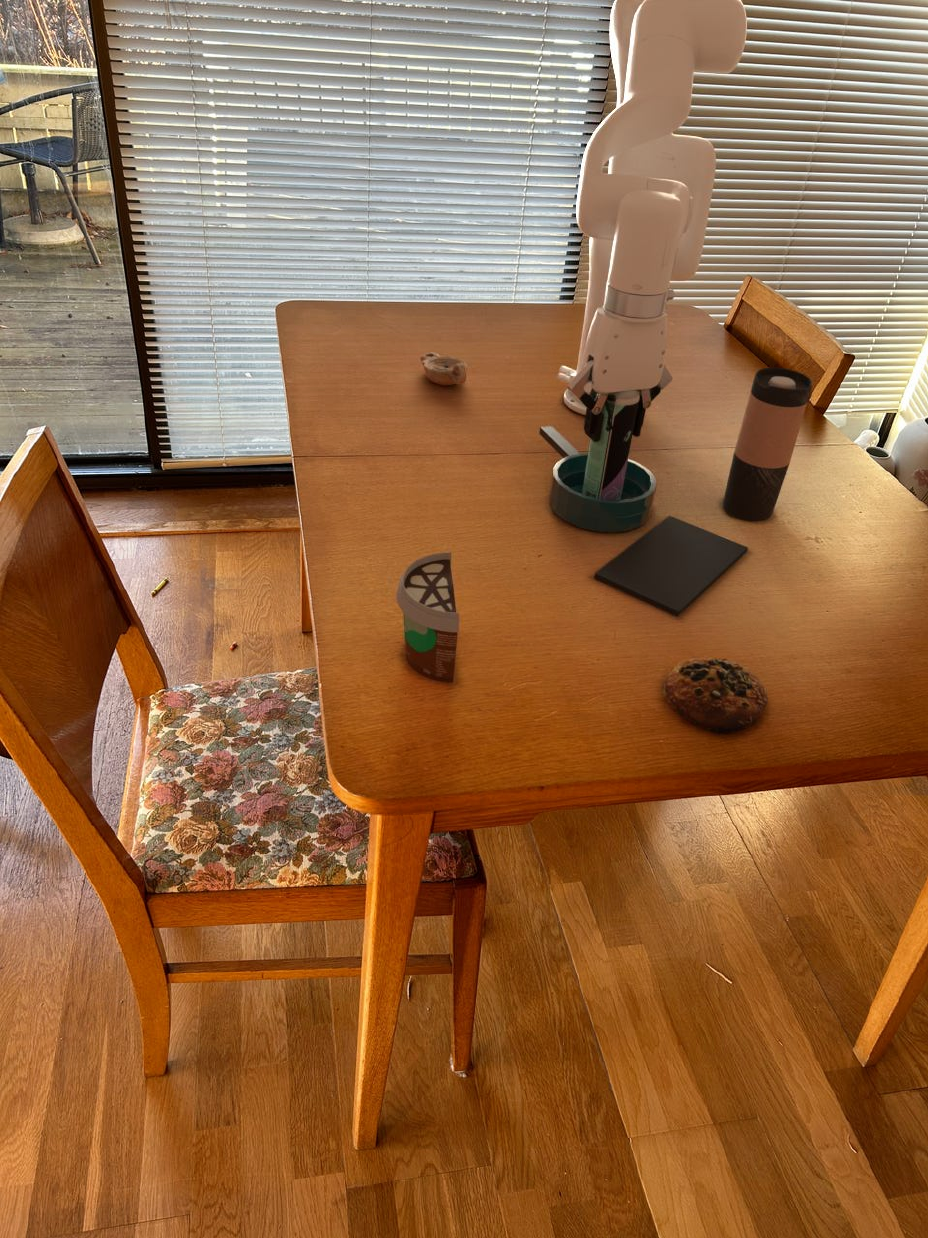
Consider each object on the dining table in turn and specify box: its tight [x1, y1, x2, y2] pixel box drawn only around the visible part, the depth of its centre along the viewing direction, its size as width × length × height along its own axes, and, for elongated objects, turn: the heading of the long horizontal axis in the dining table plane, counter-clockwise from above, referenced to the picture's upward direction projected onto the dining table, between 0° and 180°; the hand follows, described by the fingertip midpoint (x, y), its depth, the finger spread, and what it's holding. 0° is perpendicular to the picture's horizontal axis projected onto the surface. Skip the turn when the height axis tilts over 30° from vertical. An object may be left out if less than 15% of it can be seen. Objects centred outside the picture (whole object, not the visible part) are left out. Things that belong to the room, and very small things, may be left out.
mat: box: [593, 515, 749, 618], centre depth 122 cm, size 12×20×1 cm, turn 142°
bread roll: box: [662, 657, 769, 735], centre depth 100 cm, size 11×11×5 cm
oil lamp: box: [419, 352, 468, 386], centre depth 164 cm, size 13×8×5 cm, turn 27°
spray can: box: [582, 390, 640, 500], centre depth 127 cm, size 6×6×20 cm
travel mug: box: [722, 367, 813, 523], centre depth 129 cm, size 8×8×20 cm
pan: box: [548, 452, 658, 533], centre depth 131 cm, size 14×14×5 cm
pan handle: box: [538, 425, 581, 459], centre depth 140 cm, size 12×2×1 cm, turn 22°
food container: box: [395, 552, 460, 683], centre depth 101 cm, size 12×6×10 cm, turn 5°
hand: (612, 433), depth 126 cm, fingers closed on spray can, 5 cm apart
